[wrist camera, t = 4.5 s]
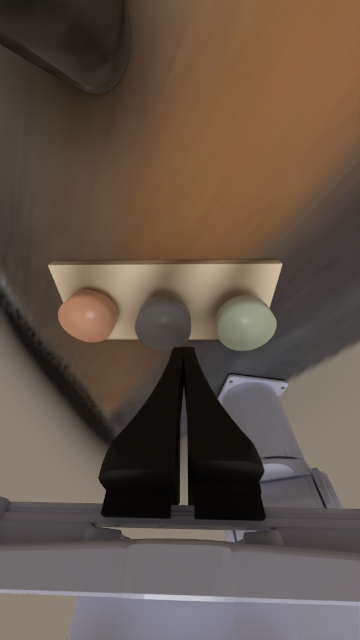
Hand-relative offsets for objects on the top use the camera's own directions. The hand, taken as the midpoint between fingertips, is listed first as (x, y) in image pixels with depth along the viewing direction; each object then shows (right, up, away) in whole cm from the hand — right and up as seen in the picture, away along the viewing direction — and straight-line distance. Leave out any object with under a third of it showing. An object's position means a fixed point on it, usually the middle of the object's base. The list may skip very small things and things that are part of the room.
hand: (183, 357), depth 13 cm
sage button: (+5, +3, +4) cm, 7 cm away
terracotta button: (-8, +4, +5) cm, 10 cm away
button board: (-2, +4, +6) cm, 7 cm away
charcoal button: (-2, +3, +4) cm, 5 cm away
